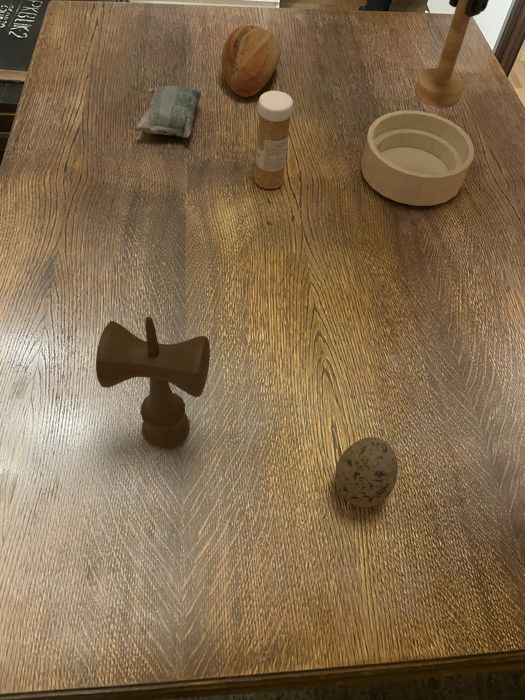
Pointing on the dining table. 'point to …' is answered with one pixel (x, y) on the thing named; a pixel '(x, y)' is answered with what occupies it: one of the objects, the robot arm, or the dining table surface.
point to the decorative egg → (366, 472)
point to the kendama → (155, 377)
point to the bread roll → (249, 59)
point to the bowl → (416, 157)
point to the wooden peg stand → (445, 66)
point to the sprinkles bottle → (272, 138)
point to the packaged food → (170, 111)
